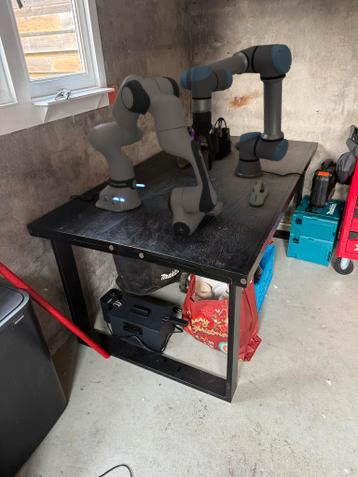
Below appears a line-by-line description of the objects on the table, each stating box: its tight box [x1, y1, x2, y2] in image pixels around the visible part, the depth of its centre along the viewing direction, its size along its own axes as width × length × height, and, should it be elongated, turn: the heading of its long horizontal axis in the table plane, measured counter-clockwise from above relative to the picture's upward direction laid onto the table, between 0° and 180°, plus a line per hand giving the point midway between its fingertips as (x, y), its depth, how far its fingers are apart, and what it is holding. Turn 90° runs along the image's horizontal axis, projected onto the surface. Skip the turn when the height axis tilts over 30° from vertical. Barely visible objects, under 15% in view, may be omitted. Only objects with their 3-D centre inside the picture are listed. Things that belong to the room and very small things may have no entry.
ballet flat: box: [249, 179, 269, 207], centre depth 158 cm, size 8×24×8 cm, turn 163°
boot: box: [175, 156, 191, 169], centre depth 209 cm, size 9×24×20 cm, turn 168°
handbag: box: [207, 116, 232, 161], centre depth 217 cm, size 21×9×25 cm, turn 148°
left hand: (203, 198), depth 146 cm, fingers closed on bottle, 5 cm apart
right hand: (202, 168), depth 138 cm, fingers open, 6 cm apart
